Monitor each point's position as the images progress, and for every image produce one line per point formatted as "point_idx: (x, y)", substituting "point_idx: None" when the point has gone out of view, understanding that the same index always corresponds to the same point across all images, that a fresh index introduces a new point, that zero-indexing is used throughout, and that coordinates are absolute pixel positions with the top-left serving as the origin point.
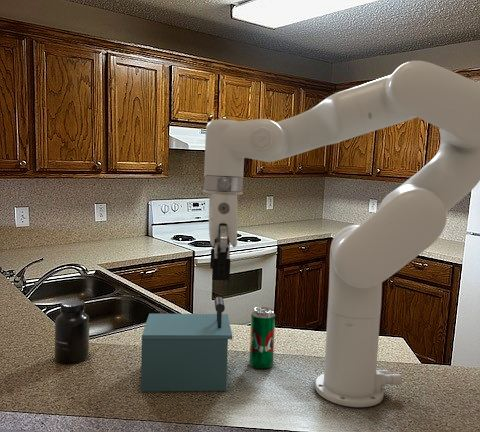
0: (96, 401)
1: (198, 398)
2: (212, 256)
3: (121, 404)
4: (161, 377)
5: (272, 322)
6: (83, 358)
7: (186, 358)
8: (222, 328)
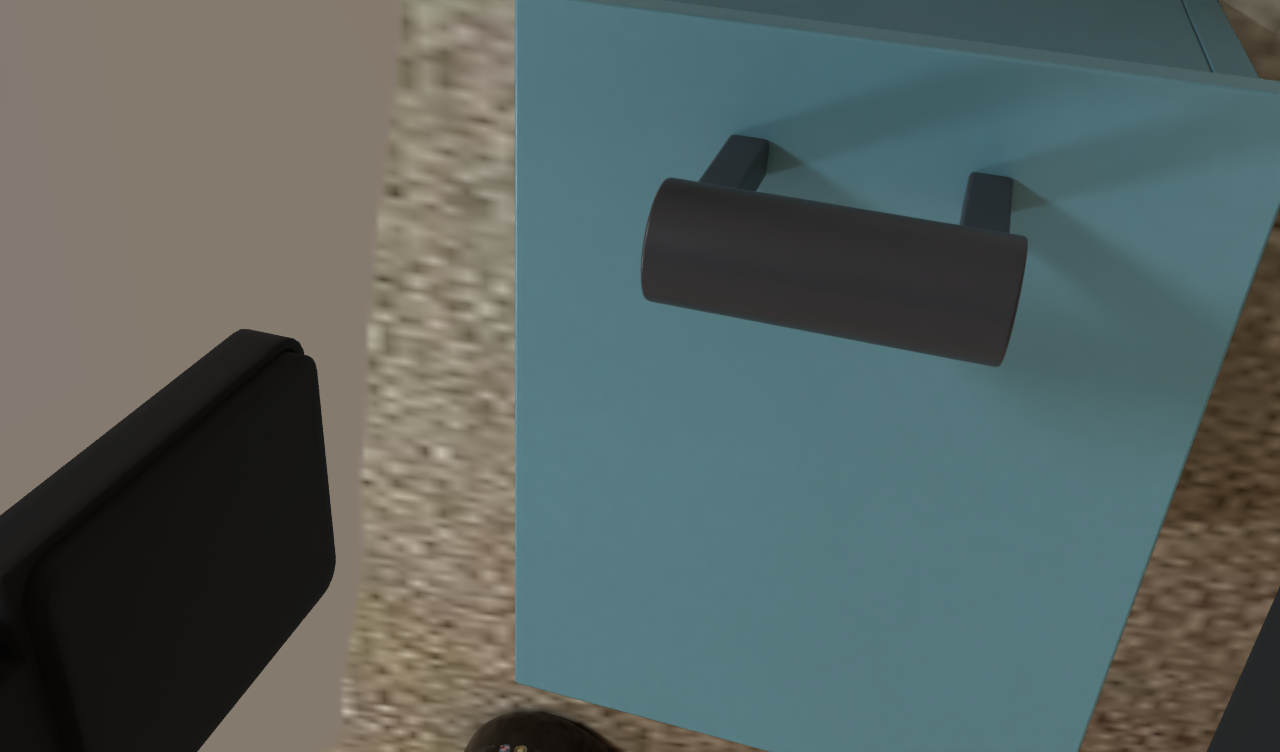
0: (1100, 733)
1: None
2: (206, 727)
3: (1179, 640)
4: None
5: None
6: (591, 743)
7: None
8: (1034, 165)
